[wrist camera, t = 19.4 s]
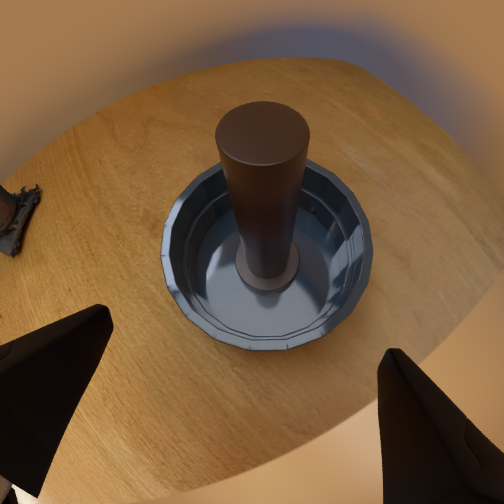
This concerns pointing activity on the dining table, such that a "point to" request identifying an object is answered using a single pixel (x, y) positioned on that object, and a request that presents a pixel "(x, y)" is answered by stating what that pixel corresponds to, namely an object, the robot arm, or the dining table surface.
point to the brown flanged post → (264, 188)
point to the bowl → (276, 304)
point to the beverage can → (14, 217)
